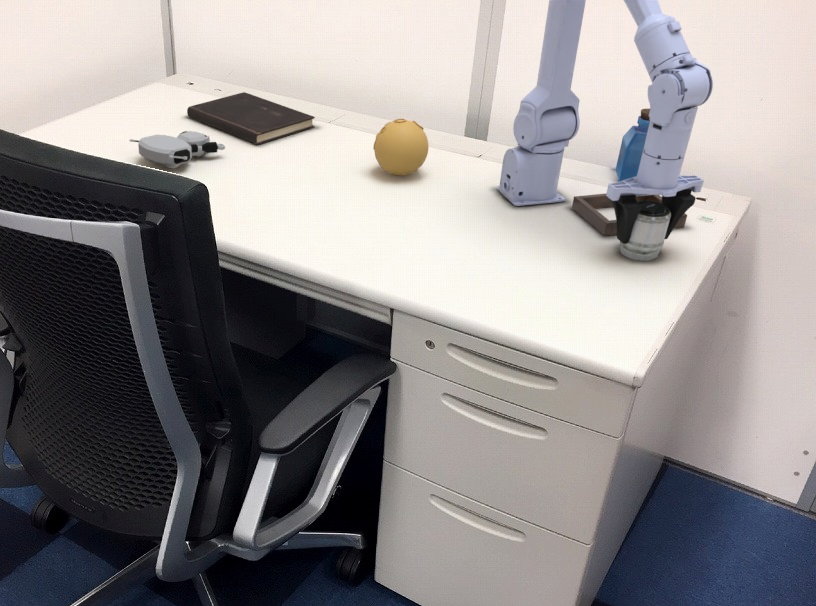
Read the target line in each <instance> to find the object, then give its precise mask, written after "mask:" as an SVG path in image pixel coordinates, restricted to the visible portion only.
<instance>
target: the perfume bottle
mask: <svg viewBox="0 0 816 606" xmlns="http://www.w3.org/2000/svg"><path fill="white" fill-rule="evenodd" d="M649 112H650V108H642V109H641V110H640V115H639V116H638V117H637V122H636V123H637V125H632V126H631V127H630V128H629V129H628V130H627V131H626V132H625V134H623V135H622V140H621V143H620V148H619V151H618V157H617V161H616V165H615V172H616V176H617V180H618V182H620V181H623V180H626V179H630V178H633V177H636V176H637V174H638V170H639V165H640V161H641V157H642V153H643V149H644V145H645V141H646V136H647V132H648V128H649V124H650V117H649Z"/></svg>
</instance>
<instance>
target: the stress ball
mask: <svg viewBox="0 0 816 606" xmlns="http://www.w3.org/2000/svg"><path fill="white" fill-rule="evenodd" d="M424 129H425V128H424V127H423V126H422V125H420V124H419V123H418V122H417V121H415V120H413V121H412V120H409V119H405V118H397V119H394V120H393V121H388V122H387V123H386V124H384V126H383V127H381V129H380V131H379V132H377V133H376V136H375V139H374V142H373V150H374V156H375V159H376V161H377V163H378V165H379V166H380V167H381V168H382V169H383V170H384V171H385V172H387V173H389V174H391V175H394V176H407V175H411V174H413V173H415V172H417V170H418V169H420V168H421V167H422V166H423V165H424V163H425V162H426V160H427V157H428V154H429V140H428V135H427V134H426V132H425V131H424Z"/></svg>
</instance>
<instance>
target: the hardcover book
mask: <svg viewBox="0 0 816 606" xmlns="http://www.w3.org/2000/svg"><path fill="white" fill-rule="evenodd" d="M186 113H187V117H188V118H190V119H192V120H196V121H198V122H201V123H203V124H206V125H208V126H210V127H212V128H214V129H215V128H216V129H218V130H220V131H222V132H225V133H228V134H231V135H233V136H235V137H238V138H240V139H243V140H245V141H247V142H249V143H252V144H255V145H257V146H260V145H263V144H266V143H270V142H273V141H275V140H279V139H282V138H286V137H289V136H292V135H295V134H298V133H301V132H305V131H308V130H311V129H315V128H316V126H315V125H313V120H314V119H316V117H315V116H313V115H311V114H308V113H305V112H302V111H300V110H297V109H294V108H290V107H288V106H285V105H282V104H279V103H276V102H274V101H271V100H268V99H265V98H262V97H259V96H256V95H254V94H251V93H248V92H246V91H243V92H240V93H239V92H238V93H235V94H232V95H228V96H224V97H220V98H218V99H217V98H216V99H213V100H209V101H206V102H205V101H204V102H201V103H197V104H193V105H190V106H188V107H187V109H186Z"/></svg>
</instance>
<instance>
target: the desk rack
mask: <svg viewBox="0 0 816 606" xmlns="http://www.w3.org/2000/svg"><path fill="white" fill-rule="evenodd" d="M606 193H607V192H605V193H597V194H587V195H586V194H585V195H575V196H573V199H572V205H571V209H572V210H573V211H574V212H575V213H576V214H577V215H579V216H580V217H581V218H582V219H583V220H585V222H587V223H588V224H589V225H590V226H591V227H593V228H594V229H595V230H596V231H598V232H599V233H600V234H601V235H602V236H603V237H605V236H606V237H607V236H617V222H616V219H610V220H609V218H607V217H606V216H605V215H603V214H602V213H601V212H600V211H598V210H597V209H602V208H603V209H604V208H614V207H613V204H612V201H611V199H609V198H608V197H607V196H606ZM636 200H637V201H644V200H645V201H647V200H651V201H656V202H659V203H661V204H662V195H647V196H637V197H636ZM687 219H688V214H687V213H686V212H685V213H684V214H683V215H682V217H681V218H680V219H679V221H678V222H677V224H676V225H675V227H674V228H673V229H681V228H685V225H686V222H687Z"/></svg>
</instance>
